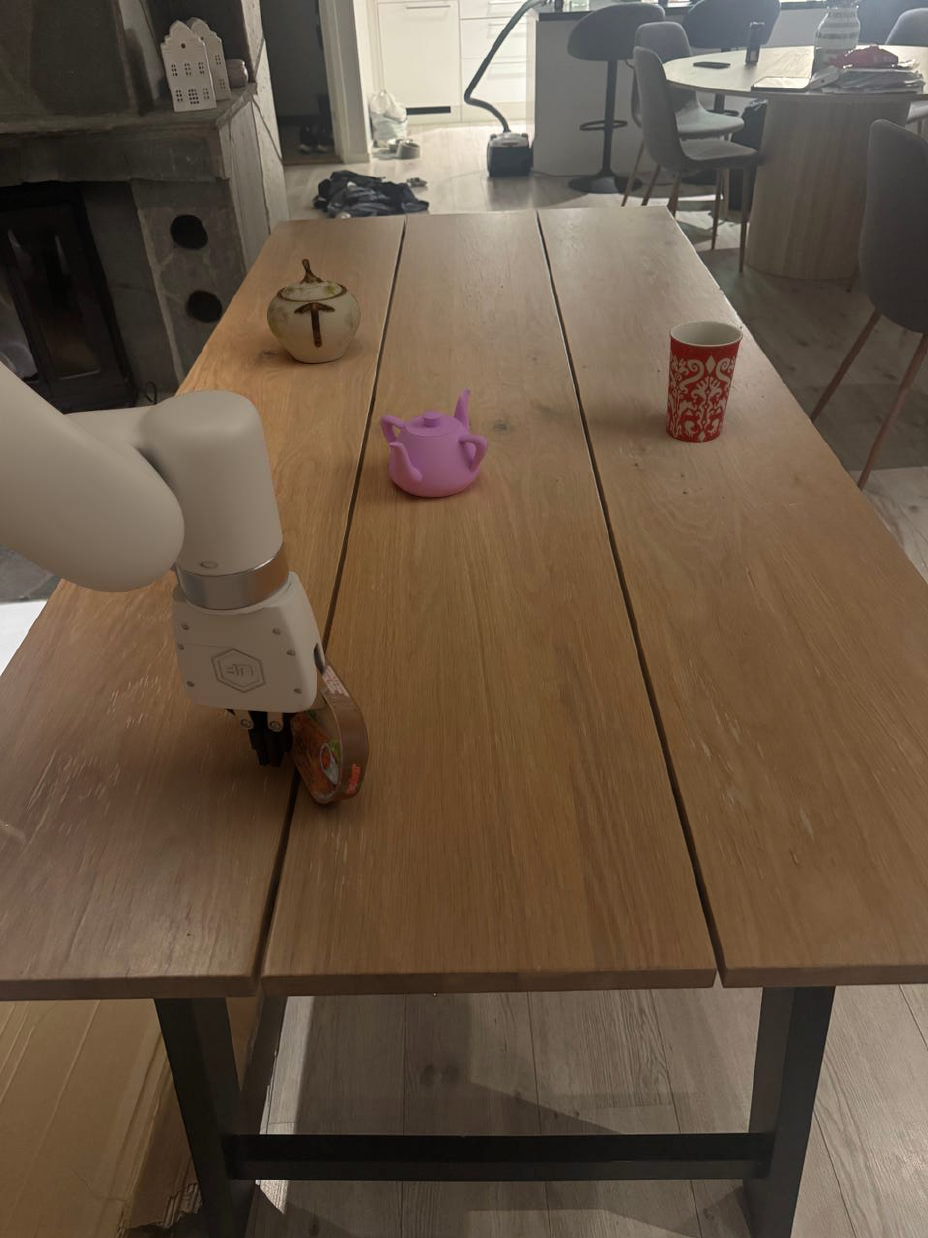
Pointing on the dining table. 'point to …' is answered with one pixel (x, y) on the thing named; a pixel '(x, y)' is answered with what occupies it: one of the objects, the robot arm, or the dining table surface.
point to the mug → (700, 378)
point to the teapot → (434, 451)
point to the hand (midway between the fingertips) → (275, 754)
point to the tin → (331, 743)
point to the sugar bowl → (314, 318)
